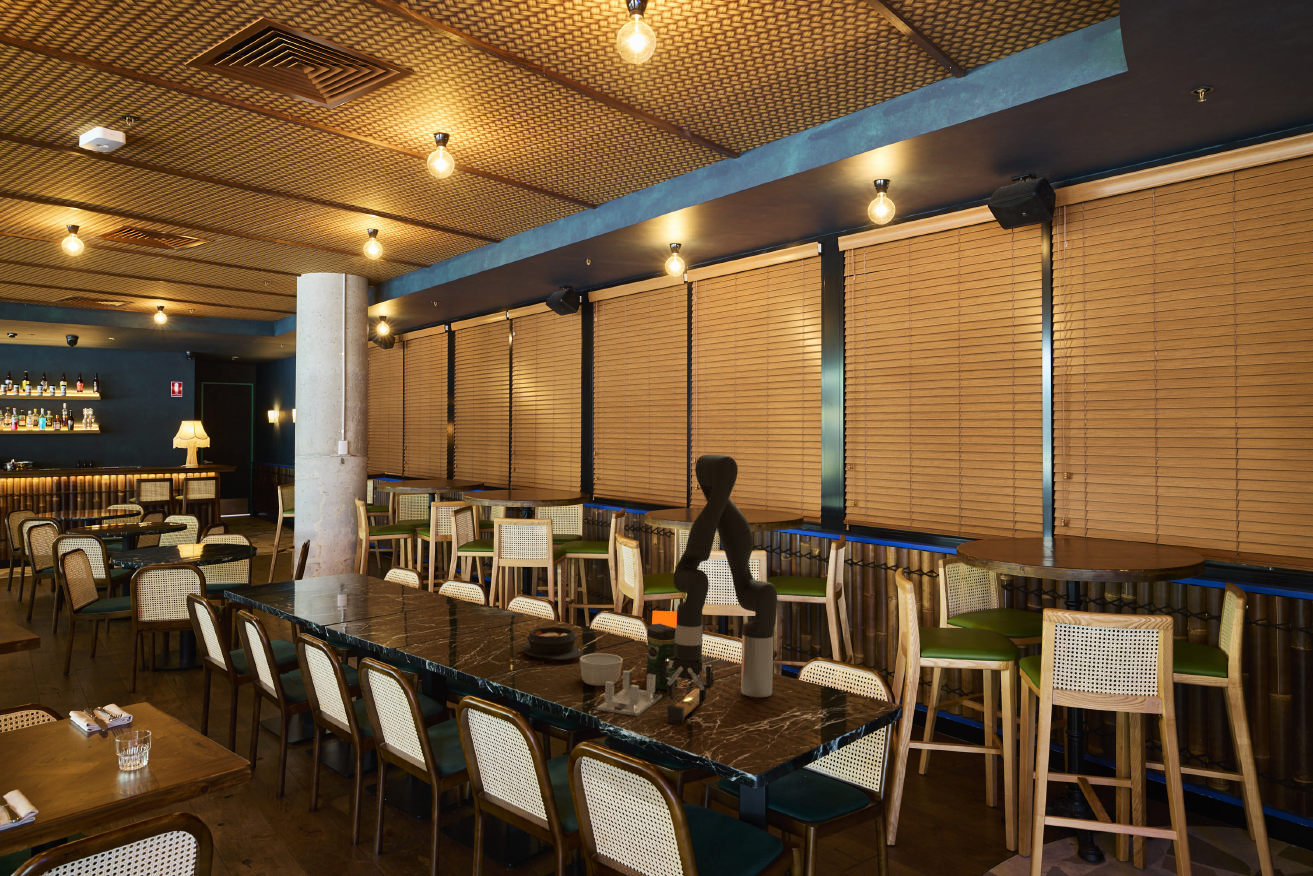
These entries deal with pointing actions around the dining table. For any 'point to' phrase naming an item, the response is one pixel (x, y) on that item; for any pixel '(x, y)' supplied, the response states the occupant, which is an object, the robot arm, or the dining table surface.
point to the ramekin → (600, 668)
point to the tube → (683, 707)
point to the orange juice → (665, 618)
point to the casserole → (552, 644)
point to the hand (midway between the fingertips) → (686, 700)
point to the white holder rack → (629, 696)
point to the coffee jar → (660, 652)
